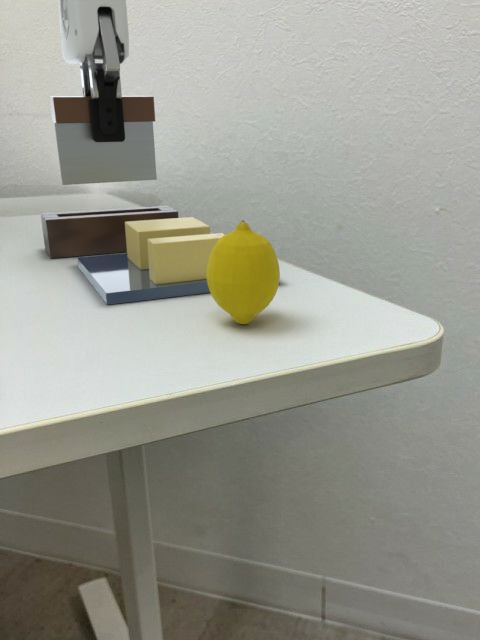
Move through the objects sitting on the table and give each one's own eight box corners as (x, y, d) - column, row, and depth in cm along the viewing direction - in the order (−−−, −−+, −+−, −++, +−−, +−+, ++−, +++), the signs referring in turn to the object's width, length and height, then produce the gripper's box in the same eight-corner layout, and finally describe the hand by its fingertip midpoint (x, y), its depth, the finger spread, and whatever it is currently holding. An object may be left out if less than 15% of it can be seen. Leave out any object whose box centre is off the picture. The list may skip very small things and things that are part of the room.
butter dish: (106, 304, 55) (105, 293, 55) (78, 267, 66) (77, 257, 65) (279, 284, 62) (279, 274, 61) (227, 253, 72) (227, 244, 72)
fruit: (279, 312, 54) (281, 213, 51) (278, 335, 49) (280, 228, 46) (211, 310, 54) (209, 212, 51) (204, 334, 49) (200, 226, 46)
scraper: (64, 186, 67) (53, 97, 64) (60, 183, 69) (49, 96, 66) (159, 181, 71) (154, 96, 68) (153, 178, 73) (147, 95, 70)
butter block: (140, 270, 61) (137, 231, 60) (127, 258, 66) (124, 221, 64) (211, 263, 64) (210, 226, 63) (194, 251, 68) (193, 216, 67)
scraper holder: (50, 258, 69) (45, 219, 67) (45, 250, 72) (40, 213, 70) (179, 247, 74) (178, 211, 73) (169, 240, 78) (167, 205, 76)
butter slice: (155, 284, 57) (153, 243, 56) (149, 278, 59) (146, 238, 57) (230, 276, 60) (230, 237, 59) (222, 271, 62) (222, 232, 60)
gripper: (32, -60, 66) (56, 135, 74) (58, -94, 53) (83, 148, 60) (108, -53, 69) (123, 134, 77) (150, -83, 56) (163, 146, 63)
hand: (105, 138), depth 68 cm, fingers closed on scraper, 2 cm apart
